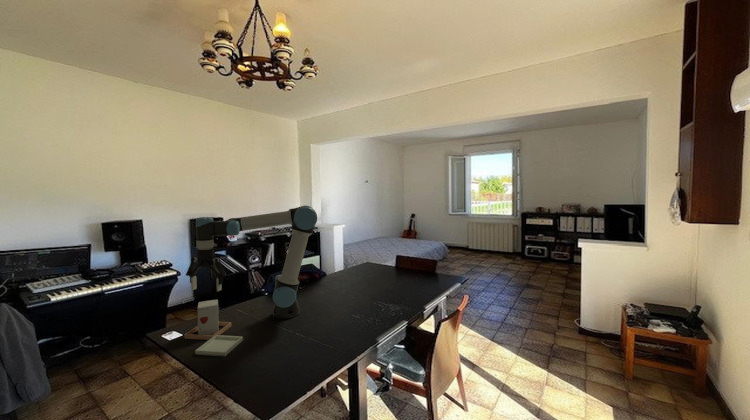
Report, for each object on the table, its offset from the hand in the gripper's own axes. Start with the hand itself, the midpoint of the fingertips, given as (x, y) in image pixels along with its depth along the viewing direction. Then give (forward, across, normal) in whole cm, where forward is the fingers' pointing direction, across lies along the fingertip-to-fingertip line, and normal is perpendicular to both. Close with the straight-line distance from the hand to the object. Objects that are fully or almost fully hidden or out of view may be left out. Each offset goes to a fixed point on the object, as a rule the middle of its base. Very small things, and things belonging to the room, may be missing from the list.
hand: (206, 290), depth 150 cm
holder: (+22, 0, 0) cm, 22 cm away
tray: (+22, -15, +13) cm, 30 cm away
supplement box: (+22, 0, 0) cm, 22 cm away
